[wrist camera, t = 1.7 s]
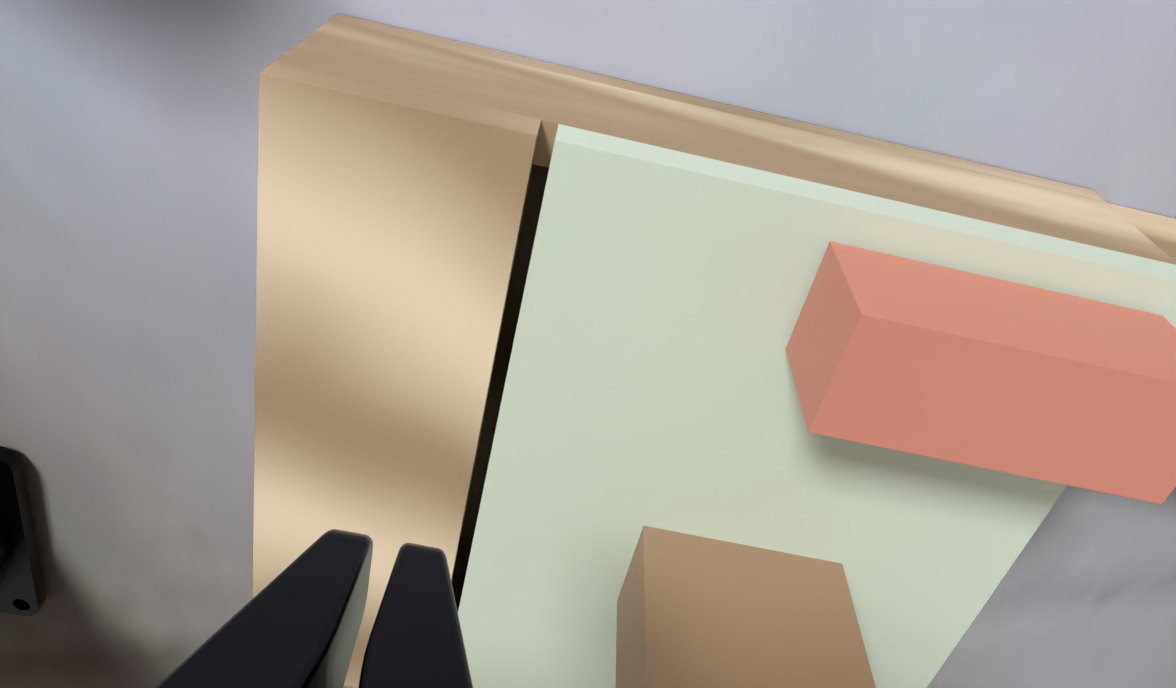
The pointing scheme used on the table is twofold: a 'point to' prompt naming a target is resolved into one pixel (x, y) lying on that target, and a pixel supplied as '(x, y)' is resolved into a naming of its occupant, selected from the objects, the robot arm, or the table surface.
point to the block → (987, 373)
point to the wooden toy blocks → (482, 262)
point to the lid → (730, 442)
